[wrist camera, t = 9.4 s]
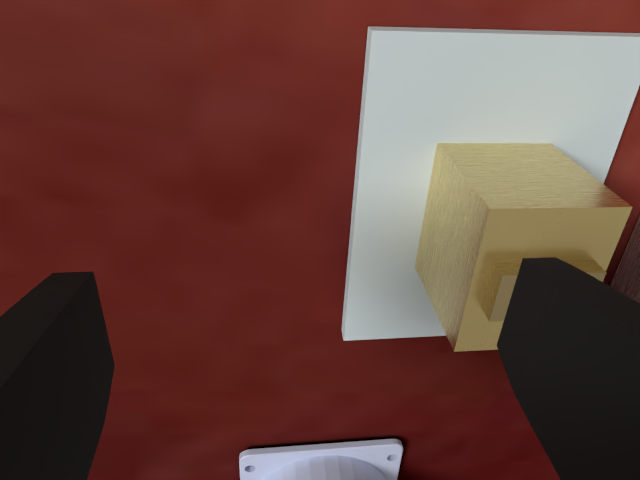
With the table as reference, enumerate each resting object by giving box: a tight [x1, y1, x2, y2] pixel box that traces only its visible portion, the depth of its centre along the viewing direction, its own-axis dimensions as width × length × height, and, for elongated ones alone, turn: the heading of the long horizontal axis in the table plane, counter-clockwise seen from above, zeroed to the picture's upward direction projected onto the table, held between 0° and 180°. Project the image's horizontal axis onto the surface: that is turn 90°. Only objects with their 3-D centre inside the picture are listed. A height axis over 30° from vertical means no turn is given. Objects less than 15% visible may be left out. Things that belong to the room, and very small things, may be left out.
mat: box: [341, 26, 640, 341], centre depth 19 cm, size 12×9×1 cm
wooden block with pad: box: [415, 143, 632, 352], centre depth 17 cm, size 5×4×5 cm
